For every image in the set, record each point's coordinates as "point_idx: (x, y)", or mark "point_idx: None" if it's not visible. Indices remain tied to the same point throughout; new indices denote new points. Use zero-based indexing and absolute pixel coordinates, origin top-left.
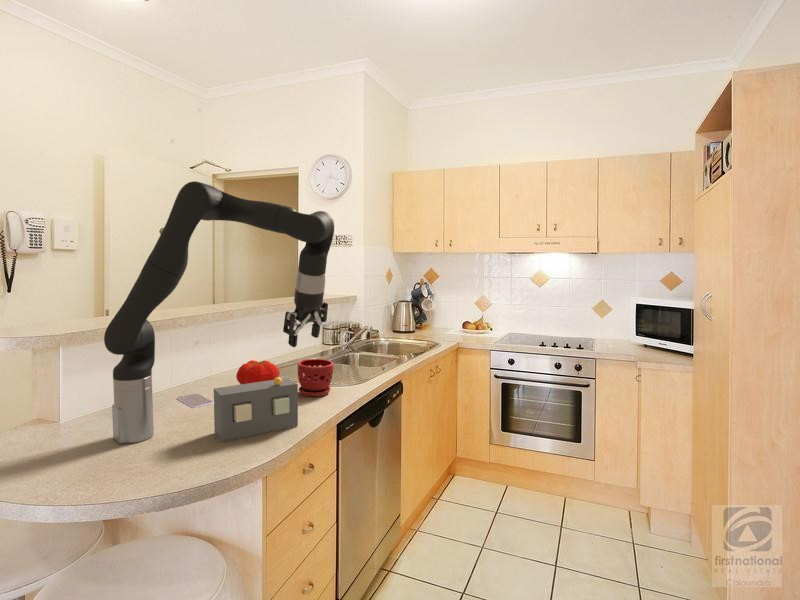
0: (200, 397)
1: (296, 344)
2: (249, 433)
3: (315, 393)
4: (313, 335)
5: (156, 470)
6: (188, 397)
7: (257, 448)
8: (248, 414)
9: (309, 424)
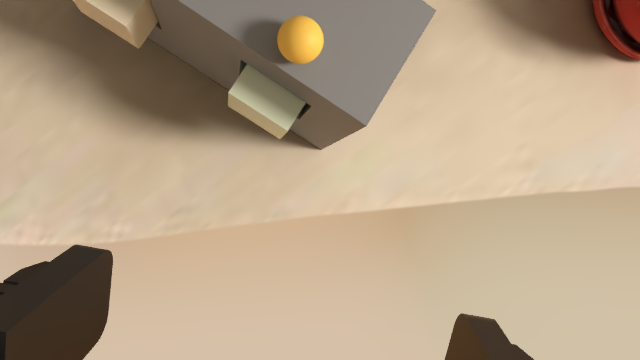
0: None
1: (84, 351)
2: (164, 45)
3: (608, 32)
4: (456, 348)
5: None
6: None
7: (84, 145)
8: (121, 33)
9: (352, 178)
